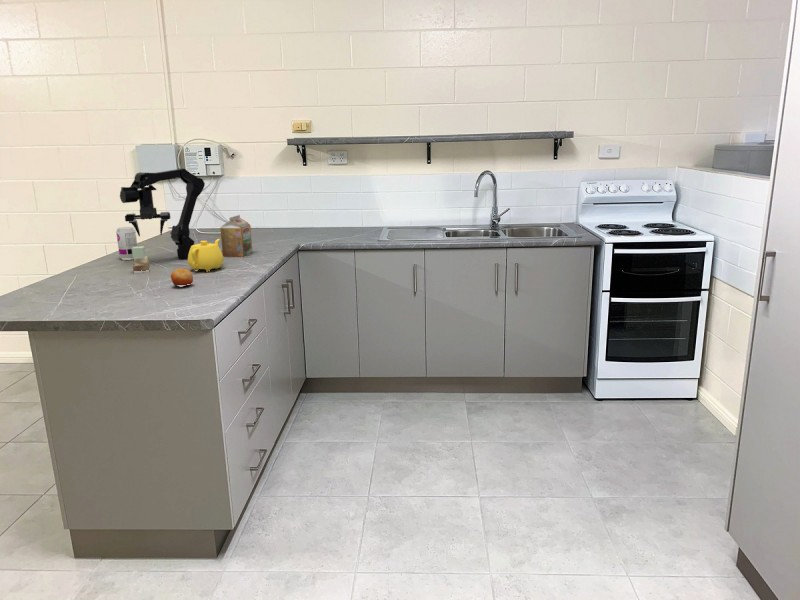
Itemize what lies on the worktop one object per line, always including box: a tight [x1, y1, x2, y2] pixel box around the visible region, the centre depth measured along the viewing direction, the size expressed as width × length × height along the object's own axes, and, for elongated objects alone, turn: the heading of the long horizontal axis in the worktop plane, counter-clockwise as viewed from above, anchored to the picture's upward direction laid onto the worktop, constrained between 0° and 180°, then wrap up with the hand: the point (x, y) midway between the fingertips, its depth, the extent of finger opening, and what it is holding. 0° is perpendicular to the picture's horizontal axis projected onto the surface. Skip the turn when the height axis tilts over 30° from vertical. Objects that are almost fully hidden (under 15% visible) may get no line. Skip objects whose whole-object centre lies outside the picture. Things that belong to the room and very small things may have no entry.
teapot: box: [187, 238, 224, 271], centre depth 266 cm, size 14×20×13 cm
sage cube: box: [132, 245, 147, 259], centre depth 263 cm, size 4×4×4 cm
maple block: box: [133, 255, 150, 266], centre depth 264 cm, size 5×5×3 cm
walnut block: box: [132, 262, 151, 272], centre depth 264 cm, size 6×6×4 cm
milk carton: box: [219, 214, 254, 258], centre depth 296 cm, size 11×11×19 cm
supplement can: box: [115, 226, 138, 258], centre depth 291 cm, size 8×8×15 cm
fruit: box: [170, 267, 194, 286], centre depth 237 cm, size 8×8×8 cm
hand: (150, 235), depth 278 cm, fingers open, 9 cm apart
